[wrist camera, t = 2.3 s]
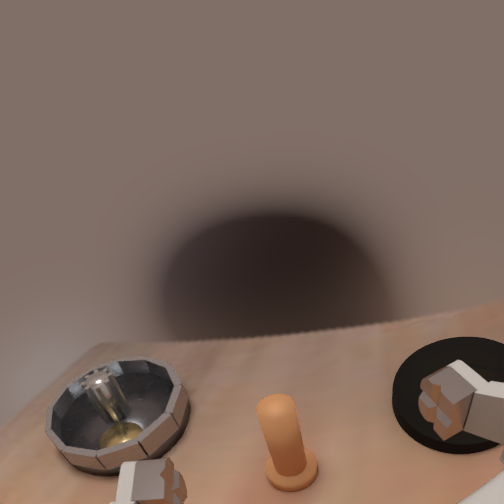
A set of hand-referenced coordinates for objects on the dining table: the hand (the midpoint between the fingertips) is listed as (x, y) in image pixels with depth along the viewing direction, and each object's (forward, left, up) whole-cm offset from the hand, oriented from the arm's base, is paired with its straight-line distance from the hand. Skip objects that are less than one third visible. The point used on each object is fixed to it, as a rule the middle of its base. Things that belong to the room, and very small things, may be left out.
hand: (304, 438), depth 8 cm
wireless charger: (+24, +6, -21) cm, 32 cm away
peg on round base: (+4, +12, -20) cm, 23 cm away
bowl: (-11, +31, -20) cm, 38 cm away
